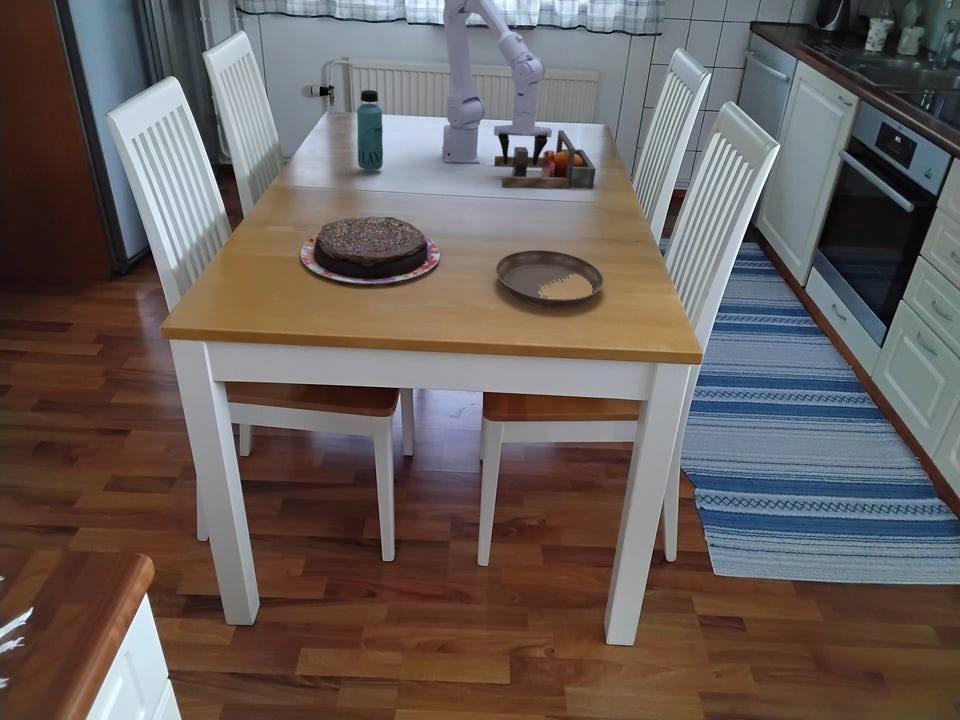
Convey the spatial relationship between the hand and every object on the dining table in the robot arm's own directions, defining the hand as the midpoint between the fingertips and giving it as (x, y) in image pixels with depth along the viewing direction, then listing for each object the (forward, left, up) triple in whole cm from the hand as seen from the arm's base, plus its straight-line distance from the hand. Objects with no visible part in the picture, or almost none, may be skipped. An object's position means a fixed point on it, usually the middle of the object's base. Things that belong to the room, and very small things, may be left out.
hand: (519, 163), depth 195 cm
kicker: (+4, 0, -3) cm, 5 cm away
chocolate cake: (-37, -49, -4) cm, 62 cm away
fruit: (+12, 0, -4) cm, 13 cm away
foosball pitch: (+6, 0, -3) cm, 7 cm away
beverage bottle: (-38, +1, -4) cm, 39 cm away
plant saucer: (-3, -62, -4) cm, 62 cm away
